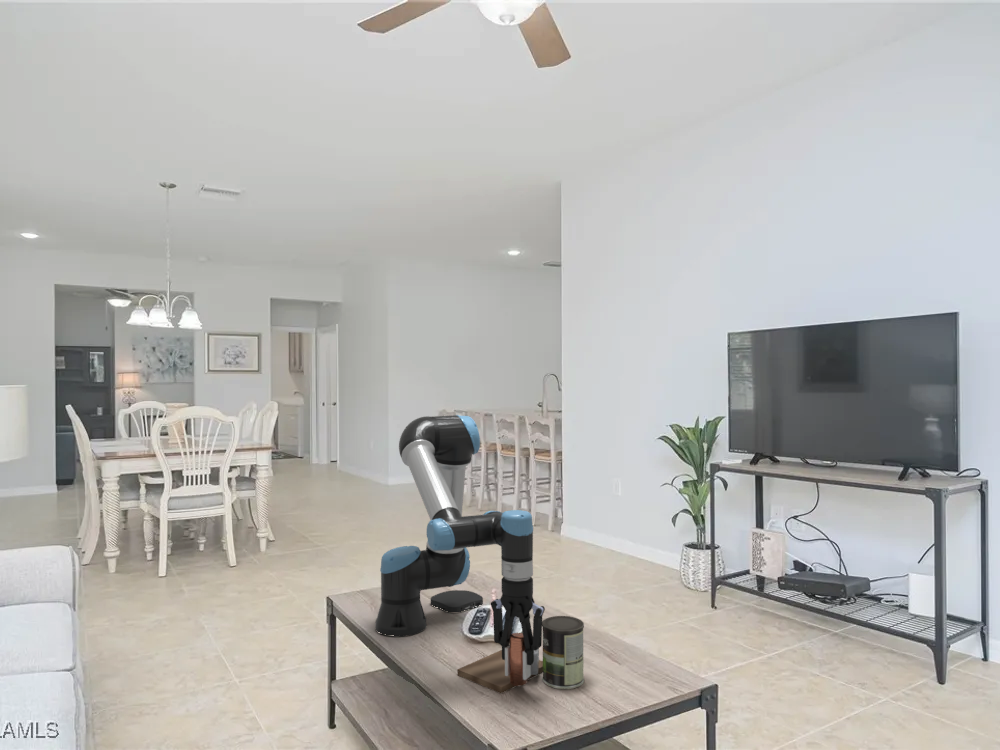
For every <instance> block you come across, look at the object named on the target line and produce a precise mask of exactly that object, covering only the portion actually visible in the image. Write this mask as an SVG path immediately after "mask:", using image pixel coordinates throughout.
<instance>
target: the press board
mask: <svg viewBox="0 0 1000 750" xmlns="http://www.w3.org/2000/svg"><path fill="white" fill-rule="evenodd" d="M456 672H457V674H456V675H457V676H459V677H461V678H463V679H465V680H468V681H470V682H473V683H475V684H478V685H480V686H482V687H484V688H487V689H490V690H492V691H494V692H497V693H499V694H503V693H506V692H508V691H509V690H511V689H513V688H515V687H517V686H514V685H512V684H511V683H510V675H509V676H505V660H503V659H502V649H500V650H497V651H495V652H494V653H493V652H492V653H491V654H488V655H486V656H484V657H482V658H480V659H478V660H475V661H473V662H471V663H469V664H466V665H465V666H462V667H459V668H457V671H456ZM541 674H543V660H541V659H539V669H538V675H531V676H530V677H529V678H528V679H527V681H529V680H530V679H533V678H535V677H536V676H539V675H541Z"/></svg>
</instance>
